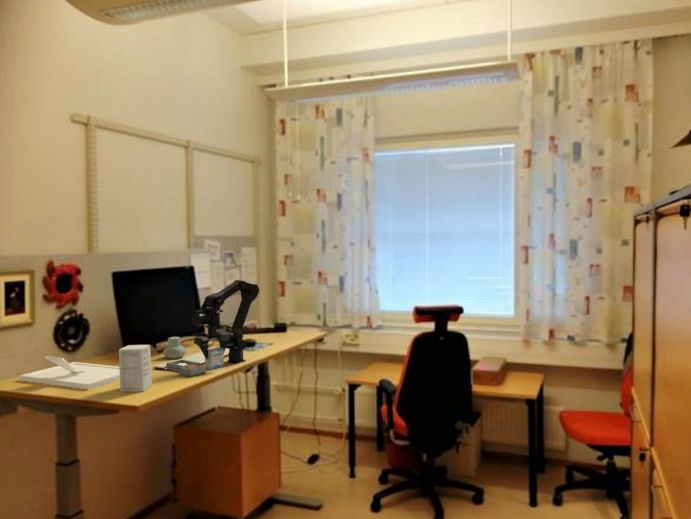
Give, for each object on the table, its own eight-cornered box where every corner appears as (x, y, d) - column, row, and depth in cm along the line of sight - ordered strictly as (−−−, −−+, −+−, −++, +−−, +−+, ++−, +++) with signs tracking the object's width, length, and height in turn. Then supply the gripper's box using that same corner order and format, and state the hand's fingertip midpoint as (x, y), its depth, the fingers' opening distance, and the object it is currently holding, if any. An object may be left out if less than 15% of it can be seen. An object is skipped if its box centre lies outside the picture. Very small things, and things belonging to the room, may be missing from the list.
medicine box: (212, 369, 258) (211, 350, 258) (204, 368, 261) (204, 349, 260) (224, 366, 265) (223, 347, 265) (217, 365, 267) (216, 346, 267)
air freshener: (161, 359, 281) (160, 339, 281) (166, 356, 290) (165, 336, 289) (183, 359, 282) (183, 339, 281) (187, 355, 290) (187, 336, 290)
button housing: (194, 371, 256) (193, 364, 256) (205, 373, 251) (205, 366, 251) (179, 374, 250) (178, 367, 250) (190, 377, 245) (190, 370, 245)
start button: (193, 369, 253) (193, 365, 253) (198, 370, 251) (198, 366, 251) (186, 371, 250) (186, 366, 250) (191, 372, 248) (191, 368, 248)
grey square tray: (184, 363, 271) (184, 358, 271) (203, 367, 263) (203, 362, 263) (163, 368, 262) (162, 363, 262) (182, 372, 253) (181, 367, 253)
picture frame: (88, 391, 227) (139, 375, 252) (86, 360, 226) (138, 347, 251) (19, 382, 243) (74, 368, 268) (18, 353, 243) (73, 341, 268)
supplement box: (152, 385, 232) (151, 344, 231) (143, 391, 223) (142, 349, 222) (129, 385, 232) (128, 344, 232) (119, 392, 223) (118, 349, 222)
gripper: (208, 327, 250) (209, 362, 250) (241, 321, 264) (241, 355, 265) (192, 325, 256) (193, 359, 257) (224, 319, 271) (225, 352, 272)
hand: (214, 356), depth 263 cm, fingers open, 9 cm apart
